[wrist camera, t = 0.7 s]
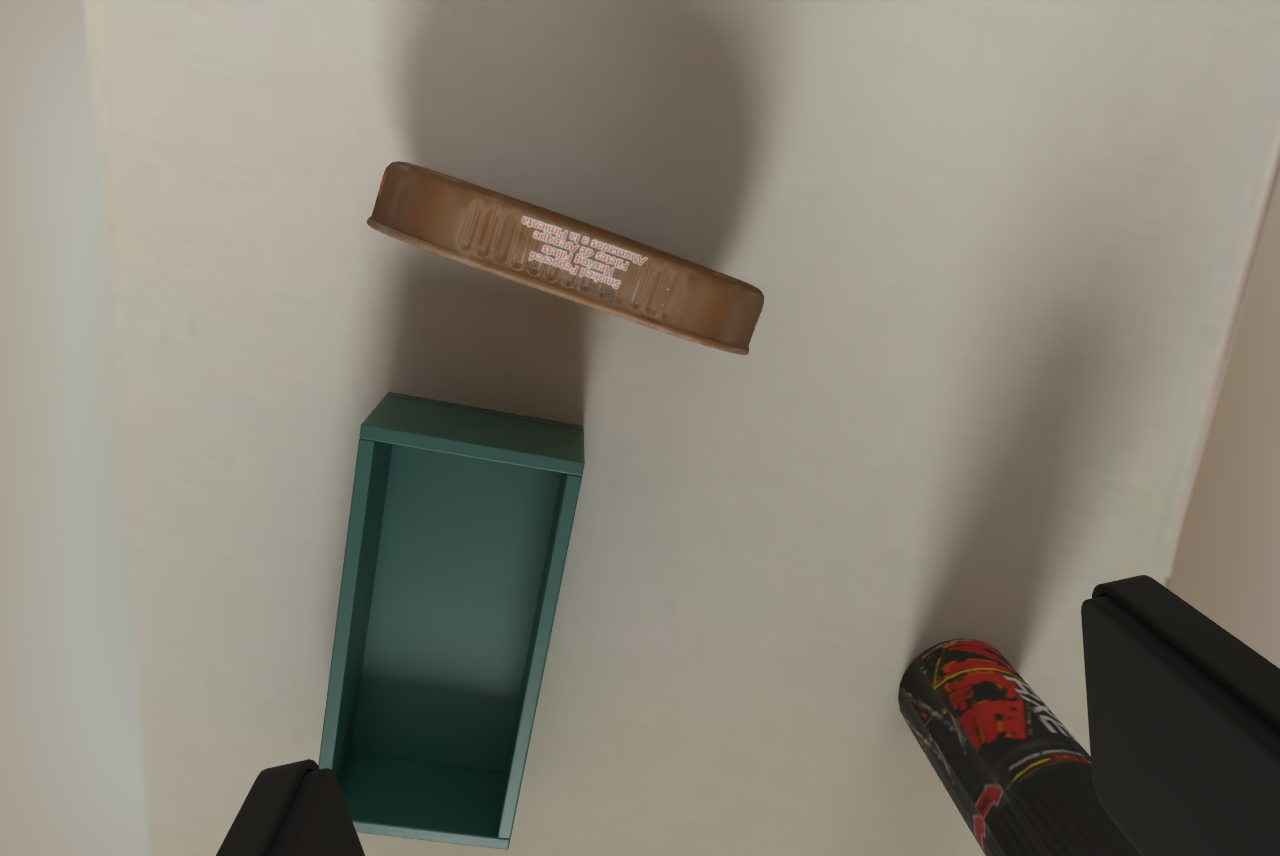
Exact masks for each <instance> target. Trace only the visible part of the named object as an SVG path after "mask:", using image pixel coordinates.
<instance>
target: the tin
mask: <svg viewBox="0 0 1280 856" xmlns="http://www.w3.org/2000/svg"><path fill="white" fill-rule="evenodd" d="M367 224H368V225H369V226H370V227H372V228H374V229H375V230H377V231H380V232H381V233H383V234H386V235H388V236H390V237H393V238H396V239H398V240H401V241H404V242H406V243H409V244H411V245H414V246H416V247H418V248H421V249H424V250H427V251H430V252H433V253H435V254H437V255H441V256H443V257H446V258H449V259H452V260H455V261H458V262H460V263H463V264H466V265H469V266H472V267H475V268H478V269H481V270H484V271H486V272H489V273H492V274H495V275H498V276H501V277H504V278H507V279H510V280H513V281H515V282H518V283H521V284H524V285H527V286H530V287H533V288H536V289H539V290H542V291H545V292H548V293H551V294H554V295H557V296H560V297H563V298H565V299H568V300H571V301H574V302H577V303H580V304H583V305H586V306H589V307H592V308H595V309H598V310H601V311H604V312H606V313H609V314H612V315H615V316H618V317H621V318H624V319H627V320H630V321H633V322H635V323H638V324H641V325H644V326H647V327H650V328H652V329H655V330H658V331H661V332H664V333H667V334H670V335H673V336H676V337H679V338H682V339H686V340H689V341H692V342H696V343H699V344H702V345H704V346H708V347H713V348H716V349H719V350H723V351H727V352H730V353H735V354H741V355H747V354H748V353H749V347H748V346H749V343H750V340H751V337H752V334H753V332H754V329H755V326H756V324H757V321H758V319H759V316H760V313H761V311H762V307H763V303H764V296H763V294H762V292H761V291H760V290H759V289H758V288H756V287H755V286H753V285H750V284H748V283H746V282H743V281H741V280H738V279H736V278H733V277H731V276H728V275H725V274H722V273H719V272H717V271H714V270H711V269H709V268H706V267H703V266H701V265H698V264H695V263H693V262H690V261H687V260H685V259H682V258H679V257H676V256H674V255H671V254H668V253H666V252H663V251H660V250H658V249H655V248H652V247H650V246H647V245H644V244H641V243H638V242H636V241H633V240H630V239H628V238H625V237H622V236H620V235H617V234H614V233H611V232H609V231H606V230H603V229H601V228H598V227H595V226H592V225H590V224H587V223H584V222H581V221H578V220H576V219H573V218H570V217H567V216H564V215H561V214H558V213H555V212H553V211H550V210H547V209H544V208H541V207H538V206H535V205H532V204H529V203H526V202H523V201H520V200H517V199H514V198H511V197H509V196H506V195H503V194H500V193H497V192H494V191H491V190H488V189H485V188H482V187H480V186H477V185H474V184H471V183H468V182H465V181H462V180H459V179H456V178H453V177H450V176H447V175H444V174H441V173H438V172H436V171H433V170H430V169H427V168H424V167H420V166H417V165H413V164H410V163H405V162H400V161H398V162H392V163H391V164H390V165H389V166H388V167H387V168H386V170H385V172H384V175H383V178H382V182H381V185H380V189H379V192H378V196H377V199H376V203H375V207H374V210H373V213H372V216H371V217H370V218H369V219H368V220H367Z"/></svg>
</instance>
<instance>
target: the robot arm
mask: <svg viewBox="0 0 1280 856" xmlns="http://www.w3.org/2000/svg"><path fill="white" fill-rule="evenodd" d="M1081 616H1082V631H1083V646H1084V661H1085V676H1086V691H1087V706H1088V721H1089V736H1090V751H1091V766H1092V779H1093V786H1094V789H1095V792H1096V795H1097V797H1098V800H1099V802H1100V804H1101V806H1102V807H1103V809H1104V811H1105V812H1106V813H1107V815H1108V816H1109V817H1110V818H1111V820H1112V821H1113V822H1114V823H1115V825H1116V826H1117V827H1118V828H1119V829H1120V831H1121V832H1122V833H1123V834H1124V835H1125V837H1126V838H1127V839H1128V840H1129V842H1130V843H1131V844H1132V845H1133V846H1134V848H1135V849H1136V850H1137V851H1138V852H1139V854H1140V855H1141V856H1280V669H1279V668H1278V667H1276V666H1275V665H1274V664H1272V663H1270V662H1269V661H1268V660H1267V659H1265V658H1264V657H1262V656H1261V655H1259V654H1258V653H1257V652H1255V651H1254V650H1253V649H1251V648H1250V647H1248V646H1247V645H1245V644H1244V643H1243V642H1241V641H1240V640H1239V639H1237V638H1236V637H1234V636H1233V635H1231V634H1230V633H1229V632H1227V631H1226V630H1224V629H1223V628H1222V627H1220V626H1219V625H1217V624H1216V623H1215V622H1213V621H1212V620H1210V619H1209V618H1208V617H1206V616H1205V615H1203V614H1202V613H1201V612H1199V611H1198V610H1196V609H1195V608H1194V607H1192V606H1191V605H1189V604H1188V603H1187V602H1185V601H1184V600H1182V599H1181V598H1179V597H1178V596H1177V595H1175V594H1174V593H1172V592H1171V591H1170V590H1168V589H1167V588H1165V587H1164V586H1163V585H1161V584H1160V583H1158V582H1157V581H1156V580H1154V579H1153V578H1151V577H1149V576H1147V575H1140V576H1136V577H1131V578H1127V579H1122V580H1118V581H1113V582H1108V583H1104V584H1099V585H1097V586H1096V587H1095V588H1094V591H1093V593H1092V599H1088V600H1085V601H1084V602H1083V604H1082V608H1081ZM216 856H365V854H364V852H363V849H362V846H361V843H360V841H359V838H358V835H357V833H356V830H355V827H354V824H353V822H352V819H351V816H350V813H349V811H348V808H347V805H346V803H345V800H344V797H343V794H342V792H341V789H340V786H339V784H338V781H337V778H336V776H335V774H334V772H333V771H332V770H331V769H329V768H324V769H320V768H319V766H318V765H317V764H316V762H315V761H313V760H310V759H308V760H304V761H299V762H295V763H290V764H286V765H281V766H277V767H272V768H268V769H265V770H263V771H261V773H260V774H259V775H258V777H257V778H256V780H255V782H254V784H253V786H252V788H251V790H250V792H249V794H248V796H247V797H246V799H245V801H244V803H243V805H242V807H241V809H240V811H239V813H238V815H237V817H236V818H235V820H234V822H233V824H232V826H231V828H230V830H229V832H228V834H227V836H226V837H225V839H224V841H223V843H222V845H221V847H220V849H219V851H218V853H217V855H216Z"/></svg>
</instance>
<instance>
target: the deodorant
mask: <svg viewBox="0 0 1280 856" xmlns="http://www.w3.org/2000/svg"><path fill="white" fill-rule="evenodd" d="M898 699H899V705H900V710H901V713H902V715H903V717H904V719H905V721H906V722H907V724H908V726H909V728H910V729H911V731H912V733H913V734H914V736H915V738H916V739H917V741H918V743H919V744H920V746H921V748H922V749H923V751H924V753H925V754H926V756H927V758H928V760H929V761H930V763H931V765H932V766H933V768H934V770H935V771H936V773H937V775H938V776H939V778H940V780H941V781H942V783H943V785H944V786H945V788H946V790H947V791H948V793H949V795H950V797H951V798H952V800H953V802H954V803H955V805H956V807H957V808H958V810H959V812H960V813H961V815H962V817H963V818H964V820H965V822H966V823H967V825H968V827H969V829H970V830H971V832H972V834H973V835H974V837H975V839H976V840H977V842H978V844H979V845H980V847H981V849H982V850H983V852H984V854H985V855H986V856H1141V855H1140V854H1139V852H1138V851H1137V850H1136V849H1135V848H1134V846H1133V845H1132V844H1131V843H1130V842H1129V840H1128V839H1127V838H1126V837H1125V835H1124V834H1123V833H1122V832H1121V831H1120V829H1119V828H1118V827H1117V826H1116V825H1115V823H1114V822H1113V821H1112V820H1111V818H1110V817H1109V816H1108V815H1107V813H1106V812H1105V811H1104V809H1103V807H1102V806H1101V804H1100V802H1099V800H1098V797H1097V795H1096V792H1095V789H1094V786H1093V779H1092V766H1091V757H1090V756H1089V754H1088V753H1087V752H1086V751H1085V750H1084V749H1083V747H1082V746H1081V745H1080V744H1079V743H1078V742H1077V741H1076V739H1075V738H1074V737H1073V736H1072V735H1071V734H1070V733H1069V731H1068V730H1067V729H1066V728H1065V727H1064V726H1063V725H1062V723H1061V722H1060V721H1059V720H1058V719H1057V718H1056V717H1055V715H1054V714H1053V713H1052V712H1051V711H1050V710H1049V708H1048V707H1047V706H1046V705H1045V704H1044V703H1043V702H1042V700H1041V699H1040V698H1039V697H1038V696H1037V695H1036V694H1035V692H1034V691H1033V690H1032V689H1031V688H1030V687H1029V686H1028V684H1027V683H1026V682H1025V681H1024V680H1023V679H1022V677H1021V676H1020V675H1019V674H1018V673H1017V672H1016V671H1015V669H1014V668H1013V667H1012V666H1011V665H1010V664H1009V663H1008V661H1007V660H1006V659H1005V658H1004V657H1003V656H1002V655H1001V654H1000V653H999V652H998V651H997V650H996V649H995V648H993V647H991V646H990V645H988V644H986V643H984V642H980V641H976V640H972V639H955V640H951V641H947V642H943V643H940V644H938V645H936V646H934V647H932V648H930V649H928V650H926V651H925V652H924V653H922V654H921V655H920V656H919V657H918V658H916V659H915V660H914V662H913V663H912V664H911V665H910V667H909V668H908V669H907V671H906V672H905V675H904V677H903V679H902V682H901V684H900V690H899V698H898Z"/></svg>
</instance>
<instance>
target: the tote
mask: <svg viewBox="0 0 1280 856" xmlns="http://www.w3.org/2000/svg"><path fill="white" fill-rule="evenodd" d="M584 464H585V462H584V428H583V427H582V426H576V425H570V424H565V423H559V422H553V421H548V420H542V419H537V418H531V417H525V416H520V415H514V414H508V413H503V412H497V411H491V410H486V409H480V408H474V407H469V406H463V405H457V404H452V403H446V402H441V401H435V400H429V399H424V398H418V397H412V396H407V395H401V394H395V393H390V392H389V393H387V395H386V396H385V397H384V398H383V399H382V401H381V402H380V403H379V404H378V405H377V407H376V408H375V409H374V410H373V411H372V413H371V414H370V415H369V416H368V417H367V419H366V420H365V421H364V422H363V423H362V425H361V429H360V439H359V445H358V453H357V461H356V469H355V477H354V485H353V493H352V501H351V509H350V517H349V525H348V533H347V541H346V549H345V557H344V565H343V573H342V581H341V589H340V597H339V605H338V613H337V621H336V629H335V637H334V645H333V653H332V661H331V669H330V677H329V685H328V693H327V701H326V709H325V717H324V725H323V733H322V741H321V749H320V757H319V765H318V766H319V768H320V769H324V768H329V769H331V770H332V771H333V772H334V774H335V776H336V778H337V781H338V784H339V786H340V789H341V792H342V794H343V797H344V800H345V803H346V805H347V808H348V811H349V813H350V816H351V819H352V822H353V824H354V827H355V830H356V832H361V833H369V834H378V835H386V836H395V837H403V838H412V839H421V840H429V841H438V842H446V843H455V844H463V845H472V846H480V847H489V848H497V849H506V850H507V849H508V848H509V843H510V837H511V833H512V828H513V823H514V818H515V813H516V808H517V803H518V798H519V793H520V788H521V782H522V777H523V772H524V767H525V762H526V757H527V752H528V747H529V742H530V737H531V732H532V727H533V722H534V717H535V712H536V707H537V702H538V697H539V692H540V686H541V681H542V676H543V671H544V666H545V661H546V656H547V651H548V646H549V641H550V636H551V631H552V626H553V621H554V616H555V611H556V606H557V601H558V596H559V590H560V585H561V580H562V575H563V570H564V565H565V560H566V555H567V550H568V545H569V540H570V535H571V530H572V525H573V520H574V515H575V510H576V505H577V500H578V494H579V489H580V484H581V479H582V474H583V469H584Z"/></svg>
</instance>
